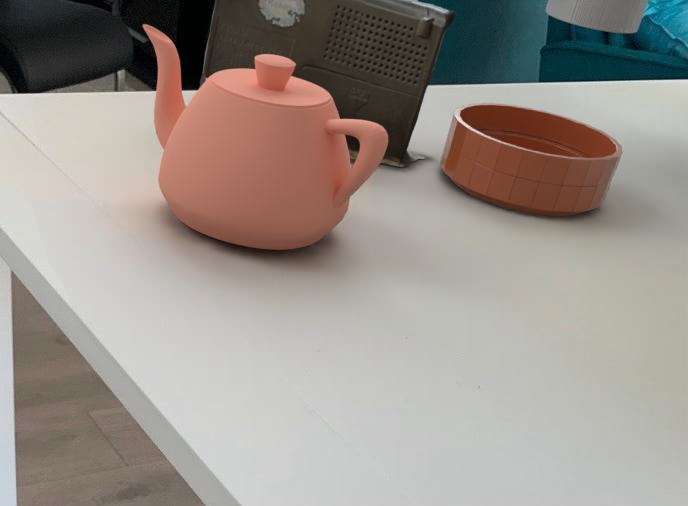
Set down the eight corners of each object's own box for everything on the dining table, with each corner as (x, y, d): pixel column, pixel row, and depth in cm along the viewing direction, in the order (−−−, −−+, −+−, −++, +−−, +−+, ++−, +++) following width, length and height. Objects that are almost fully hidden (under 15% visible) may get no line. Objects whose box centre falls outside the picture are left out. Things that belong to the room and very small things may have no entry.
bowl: (615, 194, 105) (638, 137, 101) (577, 235, 93) (601, 172, 90) (467, 149, 109) (484, 93, 106) (414, 182, 98) (430, 121, 94)
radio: (427, 158, 105) (472, -9, 95) (411, 180, 98) (457, 4, 89) (214, 104, 108) (236, -62, 99) (186, 123, 102) (206, -53, 92)
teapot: (77, 199, 83) (86, 28, 75) (180, 163, 93) (198, 9, 85) (313, 291, 75) (352, 112, 67) (397, 241, 86) (439, 80, 78)
